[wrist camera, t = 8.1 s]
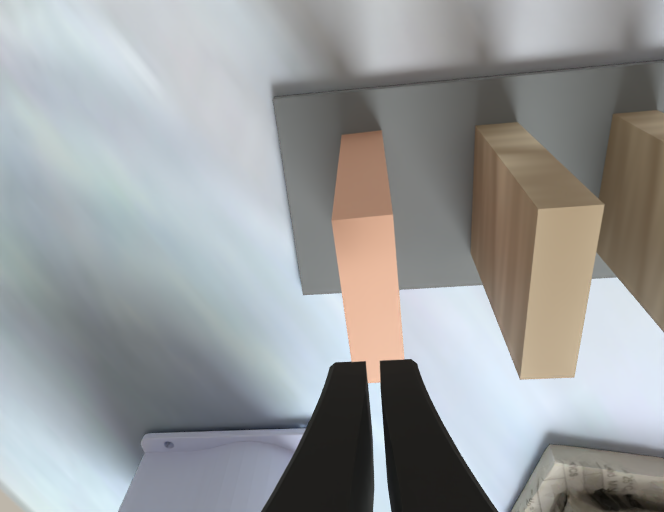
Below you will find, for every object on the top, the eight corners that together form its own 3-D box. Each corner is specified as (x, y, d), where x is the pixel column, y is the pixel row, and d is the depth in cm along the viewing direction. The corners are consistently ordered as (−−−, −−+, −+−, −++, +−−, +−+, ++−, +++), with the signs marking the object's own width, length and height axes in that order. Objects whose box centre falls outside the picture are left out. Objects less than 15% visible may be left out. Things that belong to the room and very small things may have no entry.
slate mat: (303, 289, 21) (302, 295, 21) (274, 96, 17) (272, 99, 17) (929, 253, 19) (939, 258, 19) (1054, 23, 15) (1070, 24, 15)
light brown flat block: (470, 253, 20) (520, 379, 14) (475, 125, 17) (537, 209, 11) (507, 251, 19) (574, 377, 13) (517, 121, 17) (604, 204, 11)
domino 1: (356, 258, 20) (354, 383, 14) (341, 134, 18) (331, 220, 11) (392, 255, 20) (405, 380, 14) (381, 130, 17) (392, 214, 11)
